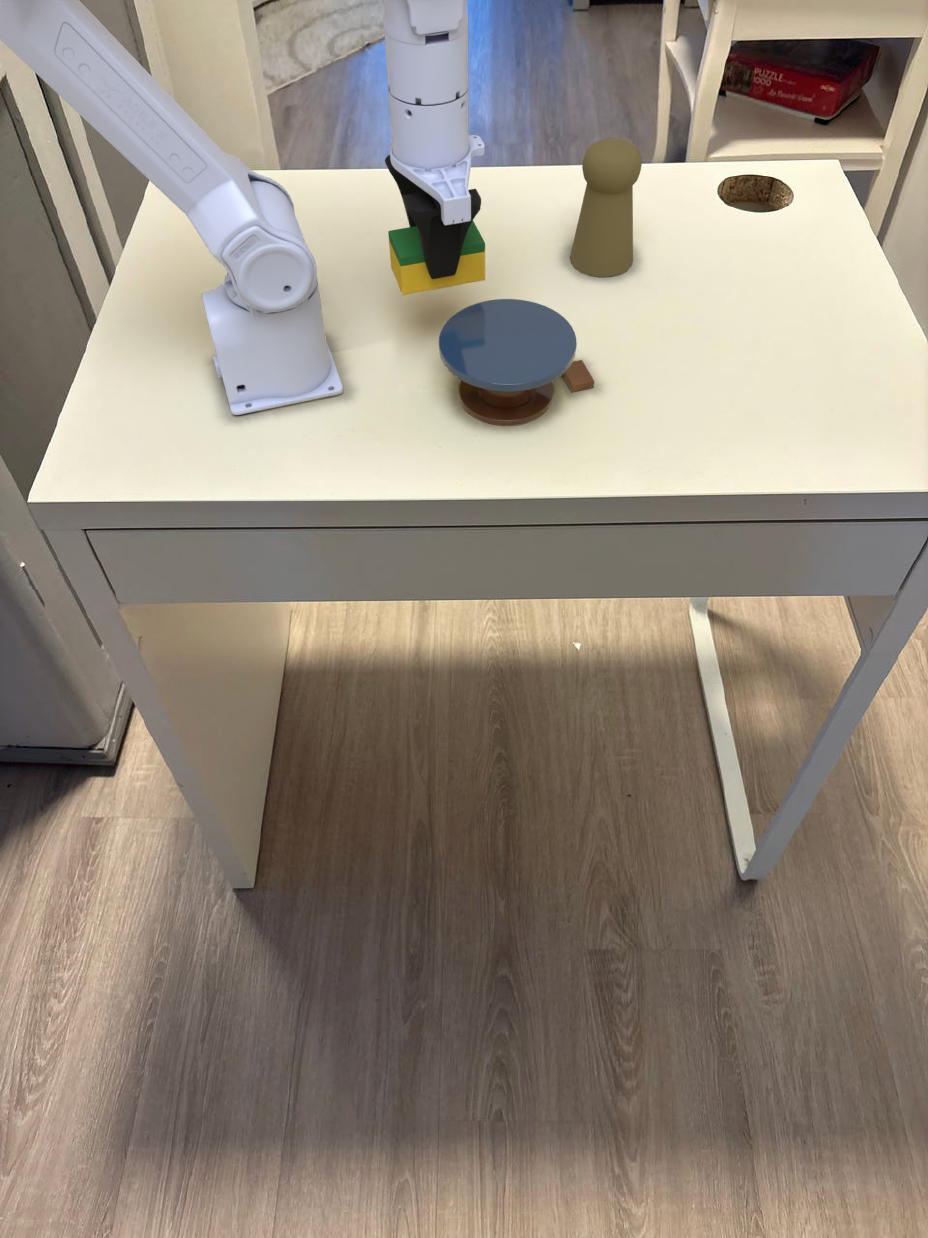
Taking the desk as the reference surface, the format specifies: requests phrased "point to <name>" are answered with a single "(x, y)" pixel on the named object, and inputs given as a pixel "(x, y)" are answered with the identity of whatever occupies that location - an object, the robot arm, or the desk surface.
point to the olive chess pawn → (607, 209)
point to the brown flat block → (578, 377)
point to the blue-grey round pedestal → (507, 358)
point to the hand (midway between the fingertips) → (435, 259)
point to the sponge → (413, 267)
